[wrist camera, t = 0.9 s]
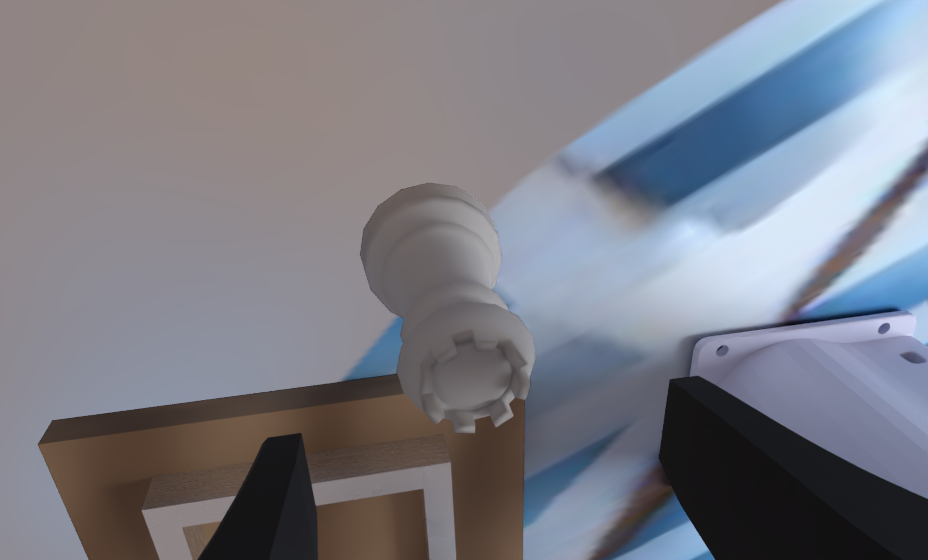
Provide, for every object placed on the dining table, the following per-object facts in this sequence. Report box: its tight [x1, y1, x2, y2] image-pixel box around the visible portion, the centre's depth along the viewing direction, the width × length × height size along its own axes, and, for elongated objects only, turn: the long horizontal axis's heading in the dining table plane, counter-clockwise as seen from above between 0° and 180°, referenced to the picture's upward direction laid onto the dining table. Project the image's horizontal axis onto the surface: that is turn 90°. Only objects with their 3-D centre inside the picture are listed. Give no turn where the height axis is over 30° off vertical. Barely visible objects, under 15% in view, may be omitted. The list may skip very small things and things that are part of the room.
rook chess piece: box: [360, 183, 536, 433], centre depth 17 cm, size 4×4×8 cm
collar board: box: [38, 374, 525, 560], centre depth 25 cm, size 16×14×3 cm
